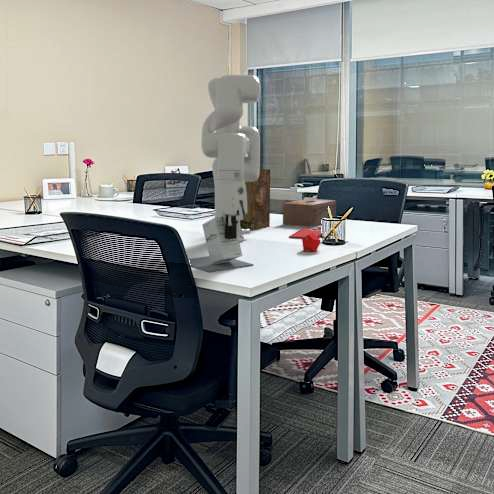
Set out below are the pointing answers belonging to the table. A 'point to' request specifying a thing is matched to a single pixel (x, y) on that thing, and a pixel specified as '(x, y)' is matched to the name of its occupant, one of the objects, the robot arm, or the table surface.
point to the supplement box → (220, 242)
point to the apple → (310, 242)
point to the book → (257, 202)
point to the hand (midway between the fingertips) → (230, 238)
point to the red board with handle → (307, 233)
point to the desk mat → (216, 264)
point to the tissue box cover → (307, 212)
